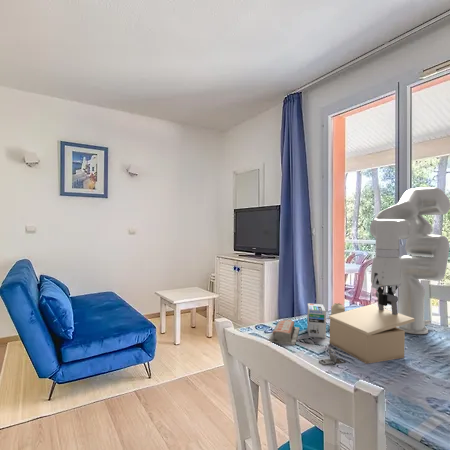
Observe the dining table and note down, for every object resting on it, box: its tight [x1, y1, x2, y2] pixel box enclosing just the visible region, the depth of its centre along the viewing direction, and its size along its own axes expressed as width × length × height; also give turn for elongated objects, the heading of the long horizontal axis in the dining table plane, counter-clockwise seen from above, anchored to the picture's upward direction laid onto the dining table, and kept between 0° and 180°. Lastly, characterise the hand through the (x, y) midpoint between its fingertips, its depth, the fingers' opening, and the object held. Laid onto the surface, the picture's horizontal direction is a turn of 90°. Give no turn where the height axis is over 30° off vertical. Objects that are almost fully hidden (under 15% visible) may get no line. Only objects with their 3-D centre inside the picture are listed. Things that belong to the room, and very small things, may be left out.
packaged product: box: [268, 319, 300, 346], centre depth 124 cm, size 18×5×10 cm
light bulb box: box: [306, 302, 327, 339], centre depth 128 cm, size 11×7×11 cm, turn 168°
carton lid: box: [328, 291, 415, 336], centre depth 112 cm, size 20×19×8 cm
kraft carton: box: [329, 319, 406, 365], centre depth 111 cm, size 16×18×9 cm
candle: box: [330, 302, 346, 315], centre depth 137 cm, size 6×6×10 cm
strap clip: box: [318, 348, 347, 366], centre depth 101 cm, size 8×3×4 cm, turn 108°
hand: (386, 304), depth 114 cm, fingers closed on carton lid, 2 cm apart
